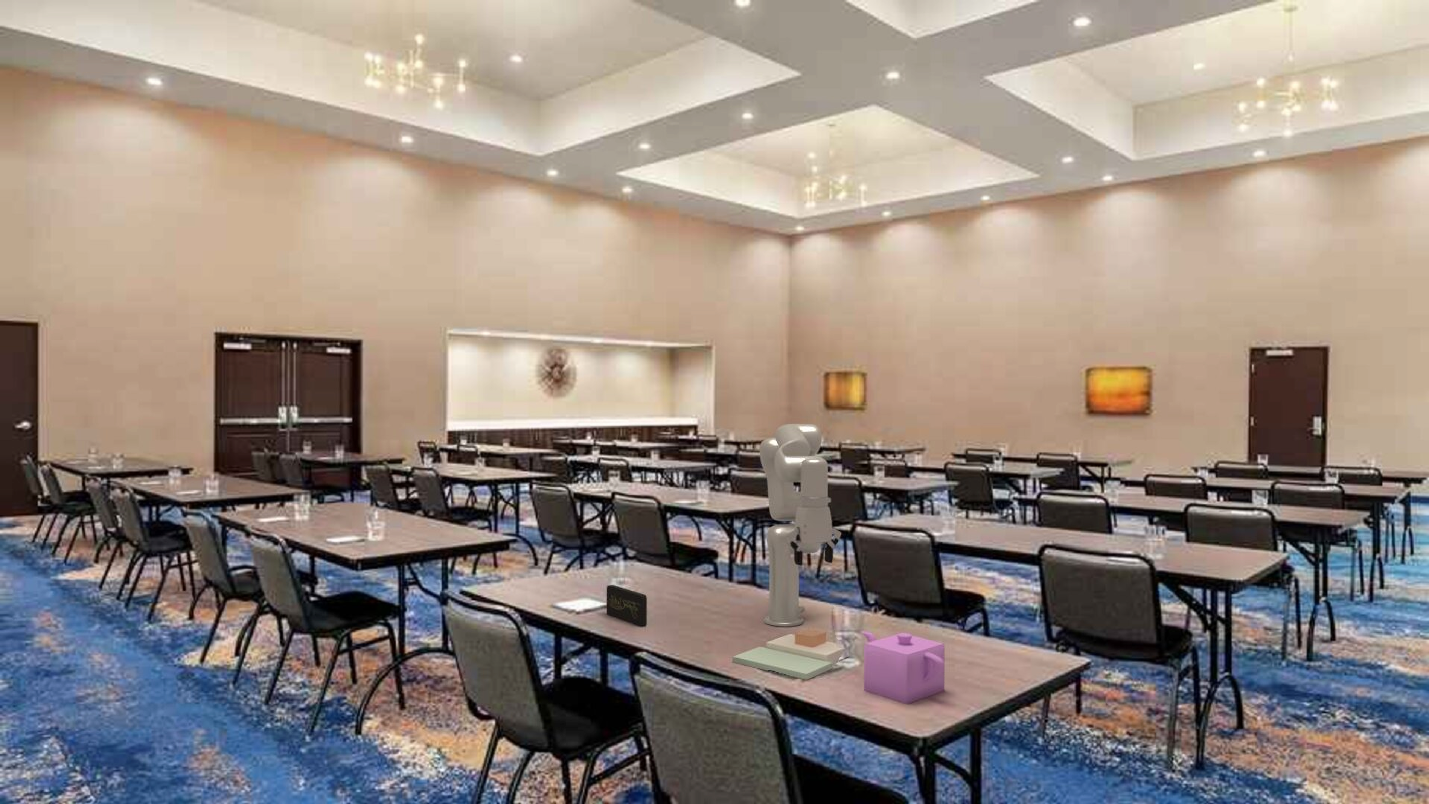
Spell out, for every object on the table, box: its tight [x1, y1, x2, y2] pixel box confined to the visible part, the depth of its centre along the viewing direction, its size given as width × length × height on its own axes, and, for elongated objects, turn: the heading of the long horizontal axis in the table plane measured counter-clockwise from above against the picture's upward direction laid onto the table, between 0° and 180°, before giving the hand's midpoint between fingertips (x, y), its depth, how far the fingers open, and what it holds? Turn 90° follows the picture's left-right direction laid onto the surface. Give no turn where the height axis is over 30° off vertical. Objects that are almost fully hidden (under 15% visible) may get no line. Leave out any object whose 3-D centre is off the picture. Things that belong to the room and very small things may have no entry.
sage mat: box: [732, 646, 833, 681], centre depth 236 cm, size 13×24×2 cm, turn 51°
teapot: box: [860, 630, 946, 705], centre depth 217 cm, size 15×25×14 cm, turn 41°
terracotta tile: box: [794, 628, 827, 648], centre depth 247 cm, size 7×6×3 cm
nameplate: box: [606, 584, 648, 628], centre depth 284 cm, size 21×2×10 cm, turn 39°
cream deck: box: [765, 633, 845, 665], centre depth 246 cm, size 12×20×3 cm, turn 51°
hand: (813, 563), depth 245 cm, fingers open, 9 cm apart
